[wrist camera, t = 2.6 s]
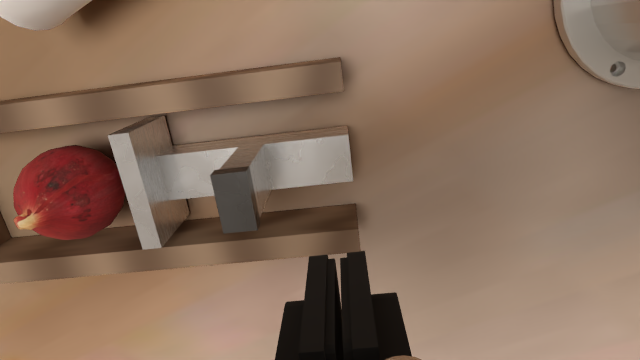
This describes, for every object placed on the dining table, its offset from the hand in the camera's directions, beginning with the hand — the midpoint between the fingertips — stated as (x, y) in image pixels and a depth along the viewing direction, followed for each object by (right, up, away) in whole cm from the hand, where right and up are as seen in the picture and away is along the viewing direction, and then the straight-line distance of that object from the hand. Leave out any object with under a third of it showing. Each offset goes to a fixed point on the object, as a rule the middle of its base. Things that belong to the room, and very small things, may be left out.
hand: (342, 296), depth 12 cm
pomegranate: (-16, +4, +17) cm, 24 cm away
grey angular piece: (-5, +5, +16) cm, 17 cm away
